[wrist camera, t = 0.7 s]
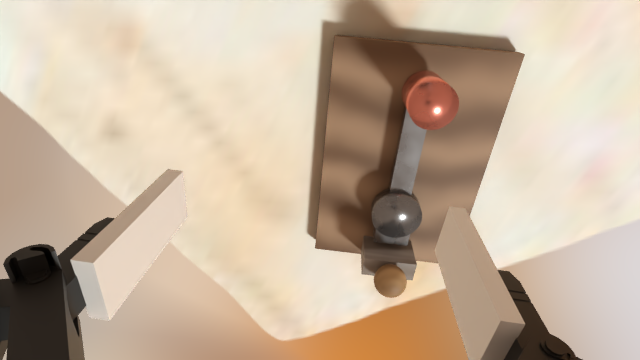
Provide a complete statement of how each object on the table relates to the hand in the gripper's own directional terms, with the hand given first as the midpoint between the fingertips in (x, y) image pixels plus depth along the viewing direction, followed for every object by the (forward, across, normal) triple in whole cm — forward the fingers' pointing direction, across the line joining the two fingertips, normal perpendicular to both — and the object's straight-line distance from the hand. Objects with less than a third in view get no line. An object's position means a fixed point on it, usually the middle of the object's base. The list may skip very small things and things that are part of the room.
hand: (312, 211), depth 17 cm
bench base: (+23, +9, -7) cm, 25 cm away
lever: (+21, +9, -6) cm, 23 cm away
